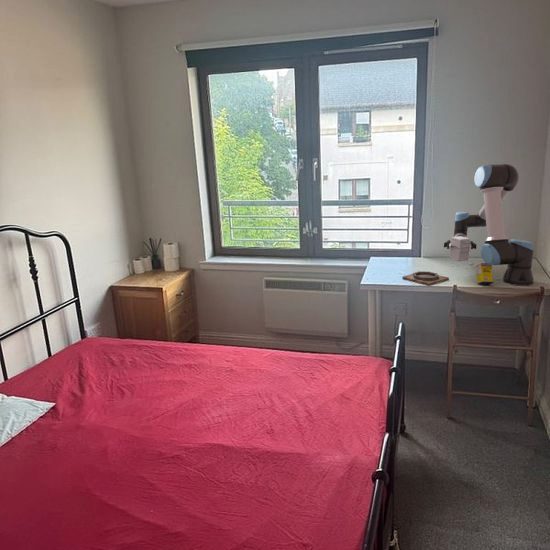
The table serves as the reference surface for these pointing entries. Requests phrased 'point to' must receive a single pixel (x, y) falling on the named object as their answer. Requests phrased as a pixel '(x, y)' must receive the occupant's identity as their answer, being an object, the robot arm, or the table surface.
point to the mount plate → (427, 282)
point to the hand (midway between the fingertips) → (459, 248)
